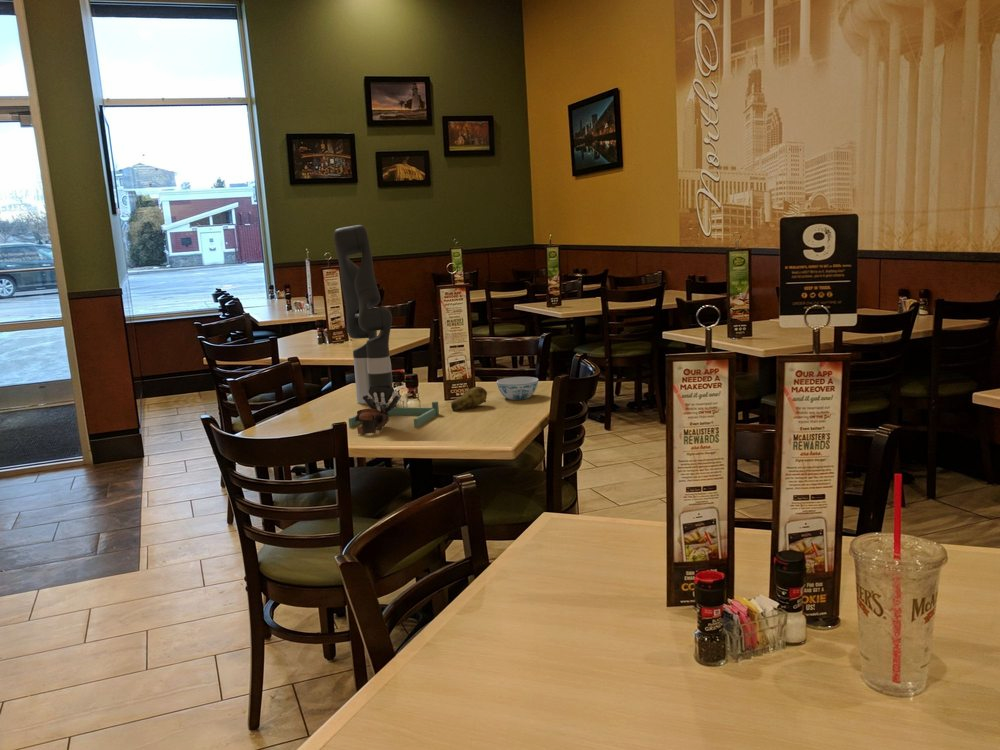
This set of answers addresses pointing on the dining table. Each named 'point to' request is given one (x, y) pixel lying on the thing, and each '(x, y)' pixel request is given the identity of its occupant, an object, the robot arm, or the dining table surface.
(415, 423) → the teal bars
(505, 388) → the chinaware
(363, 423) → the pottery mug
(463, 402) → the olive green tapered lump
